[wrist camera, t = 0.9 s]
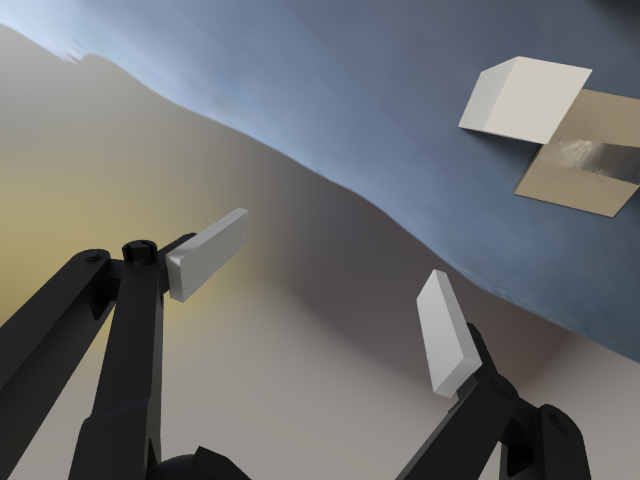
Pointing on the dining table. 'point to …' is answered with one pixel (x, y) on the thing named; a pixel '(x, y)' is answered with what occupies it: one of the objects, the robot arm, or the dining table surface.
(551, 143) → the square base with post
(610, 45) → the dining table surface
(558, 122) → the cream cuboid
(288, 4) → the dining table surface
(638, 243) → the dining table surface
